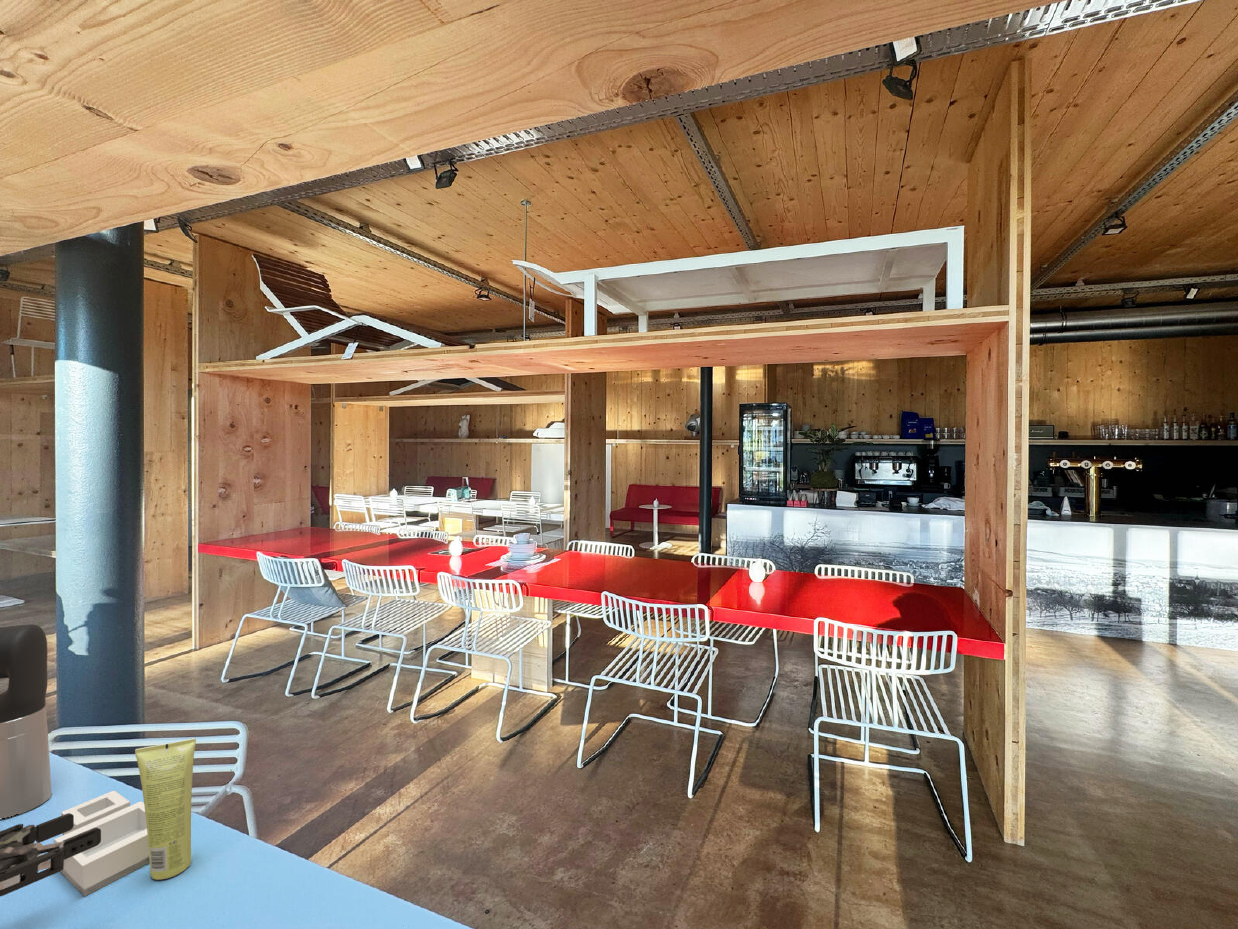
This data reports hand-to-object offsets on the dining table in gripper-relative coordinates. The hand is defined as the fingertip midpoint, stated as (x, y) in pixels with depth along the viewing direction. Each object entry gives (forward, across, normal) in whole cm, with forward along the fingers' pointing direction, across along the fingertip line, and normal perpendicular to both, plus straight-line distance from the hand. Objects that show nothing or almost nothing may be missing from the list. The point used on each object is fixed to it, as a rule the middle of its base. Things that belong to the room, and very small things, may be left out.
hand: (85, 827), depth 80 cm
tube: (+11, 0, +12) cm, 16 cm away
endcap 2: (+8, +11, +11) cm, 18 cm away
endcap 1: (+9, +22, +11) cm, 26 cm away
